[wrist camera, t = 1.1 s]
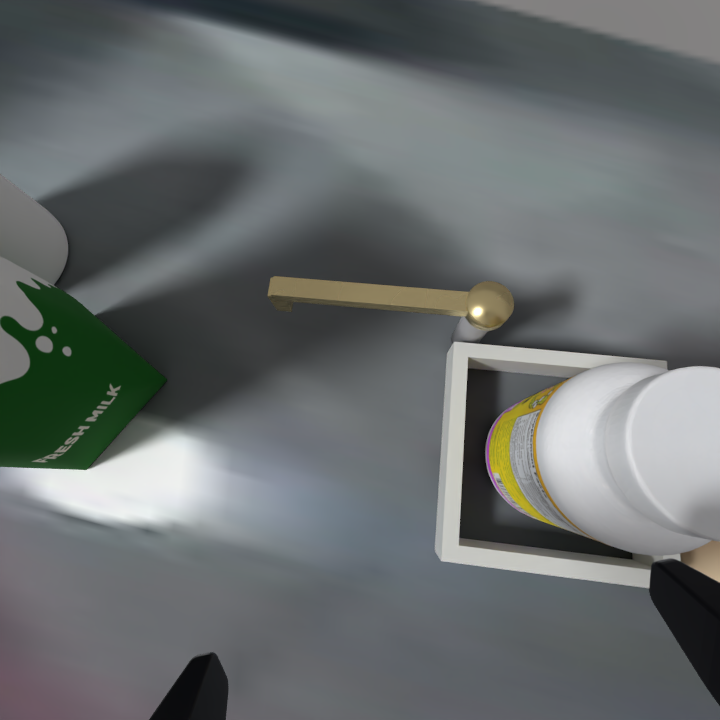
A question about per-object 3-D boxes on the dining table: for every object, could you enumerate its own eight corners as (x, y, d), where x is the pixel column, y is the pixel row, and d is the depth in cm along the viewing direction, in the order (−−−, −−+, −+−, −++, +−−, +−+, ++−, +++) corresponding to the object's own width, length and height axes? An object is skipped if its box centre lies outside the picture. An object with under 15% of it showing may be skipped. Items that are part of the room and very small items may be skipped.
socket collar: (648, 578, 22) (726, 611, 17) (434, 550, 22) (449, 574, 18) (636, 342, 25) (699, 312, 20) (448, 325, 26) (464, 293, 21)
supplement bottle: (600, 406, 24) (838, 343, 11) (602, 526, 22) (880, 606, 10) (483, 393, 24) (589, 321, 12) (477, 511, 23) (593, 567, 10)
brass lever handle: (499, 341, 21) (513, 326, 19) (275, 320, 22) (263, 304, 20) (500, 301, 22) (514, 283, 20) (281, 283, 23) (271, 264, 21)
